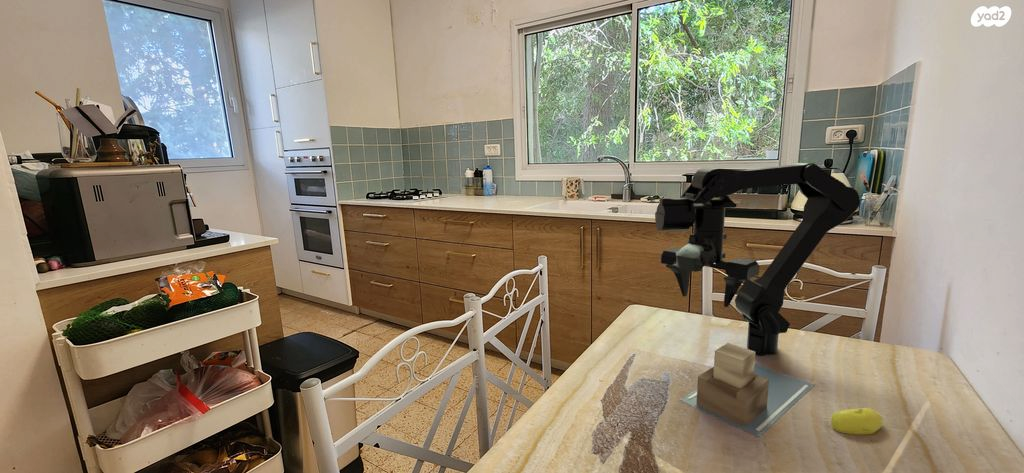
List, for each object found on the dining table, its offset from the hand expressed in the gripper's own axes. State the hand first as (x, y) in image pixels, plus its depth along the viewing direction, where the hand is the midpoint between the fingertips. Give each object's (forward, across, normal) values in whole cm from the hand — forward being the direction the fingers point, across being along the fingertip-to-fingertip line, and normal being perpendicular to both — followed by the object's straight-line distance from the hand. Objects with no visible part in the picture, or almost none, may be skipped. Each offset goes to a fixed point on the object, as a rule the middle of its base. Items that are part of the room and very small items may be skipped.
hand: (704, 301), depth 91 cm
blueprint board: (+12, +14, -10) cm, 21 cm away
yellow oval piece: (+12, +29, -7) cm, 32 cm away
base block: (+11, +14, -16) cm, 24 cm away
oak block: (+7, +14, -16) cm, 22 cm away
